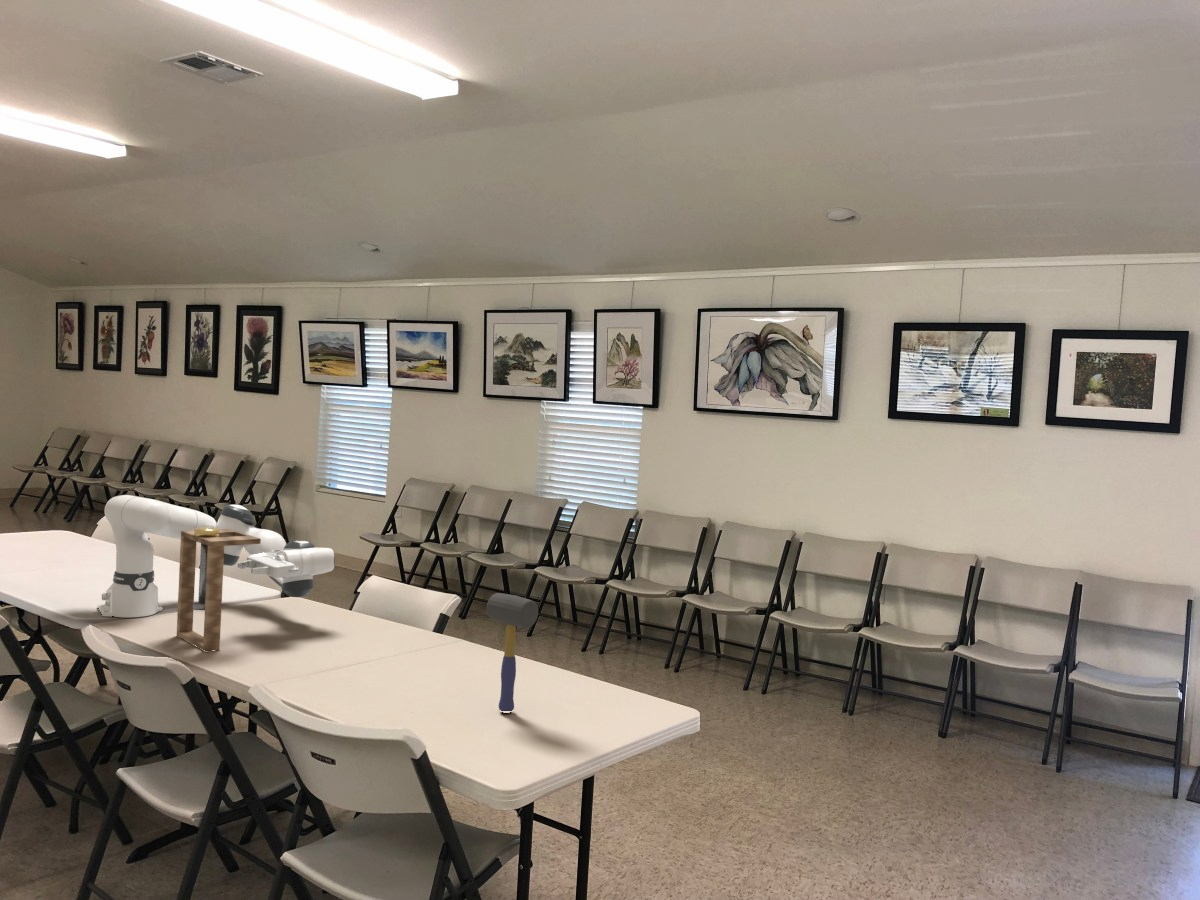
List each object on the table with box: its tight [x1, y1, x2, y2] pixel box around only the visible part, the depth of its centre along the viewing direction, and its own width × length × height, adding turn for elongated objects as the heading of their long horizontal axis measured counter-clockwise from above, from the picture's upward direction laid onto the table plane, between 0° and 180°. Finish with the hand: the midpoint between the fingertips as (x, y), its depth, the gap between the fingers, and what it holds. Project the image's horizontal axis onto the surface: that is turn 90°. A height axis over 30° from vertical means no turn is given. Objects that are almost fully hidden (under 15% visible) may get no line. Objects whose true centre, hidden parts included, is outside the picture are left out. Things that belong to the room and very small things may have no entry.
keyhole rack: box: [176, 529, 261, 652], centre depth 287 cm, size 15×22×32 cm
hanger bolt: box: [193, 527, 220, 611], centre depth 283 cm, size 7×7×24 cm
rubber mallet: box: [486, 592, 539, 712], centre depth 238 cm, size 12×8×30 cm, turn 54°
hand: (245, 568), depth 290 cm, fingers open, 8 cm apart
